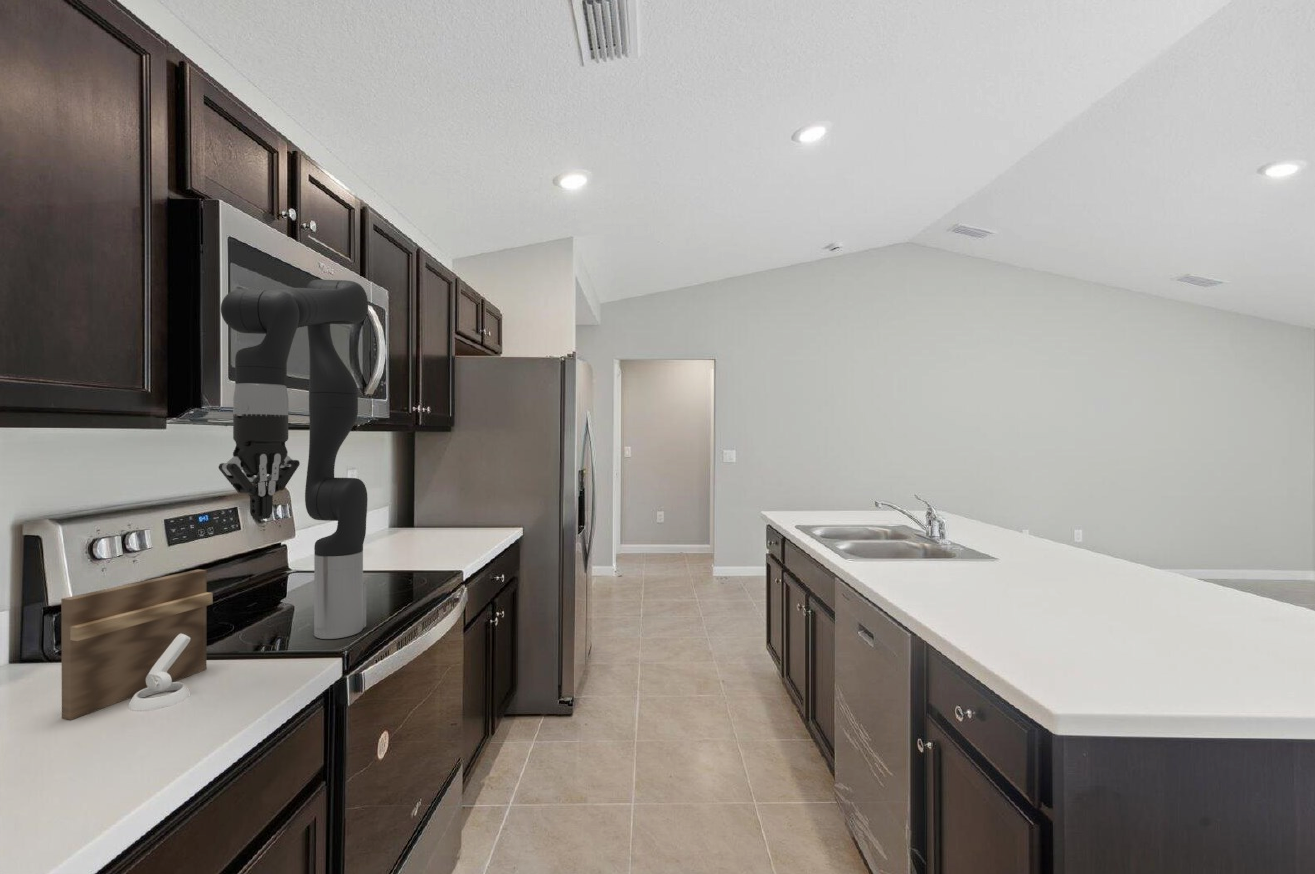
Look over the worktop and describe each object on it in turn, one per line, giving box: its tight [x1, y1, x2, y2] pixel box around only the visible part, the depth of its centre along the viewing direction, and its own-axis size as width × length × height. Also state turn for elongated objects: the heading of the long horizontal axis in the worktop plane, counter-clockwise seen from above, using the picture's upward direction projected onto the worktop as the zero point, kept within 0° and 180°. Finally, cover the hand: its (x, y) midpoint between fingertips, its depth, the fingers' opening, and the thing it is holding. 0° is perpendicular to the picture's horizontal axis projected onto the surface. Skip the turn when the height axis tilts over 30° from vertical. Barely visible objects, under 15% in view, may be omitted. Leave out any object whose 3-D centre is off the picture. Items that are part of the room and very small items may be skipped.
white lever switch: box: [127, 633, 191, 712], centre depth 97 cm, size 8×12×7 cm
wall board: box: [60, 568, 214, 721], centre depth 99 cm, size 20×4×18 cm, turn 163°
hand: (261, 518), depth 98 cm, fingers closed
